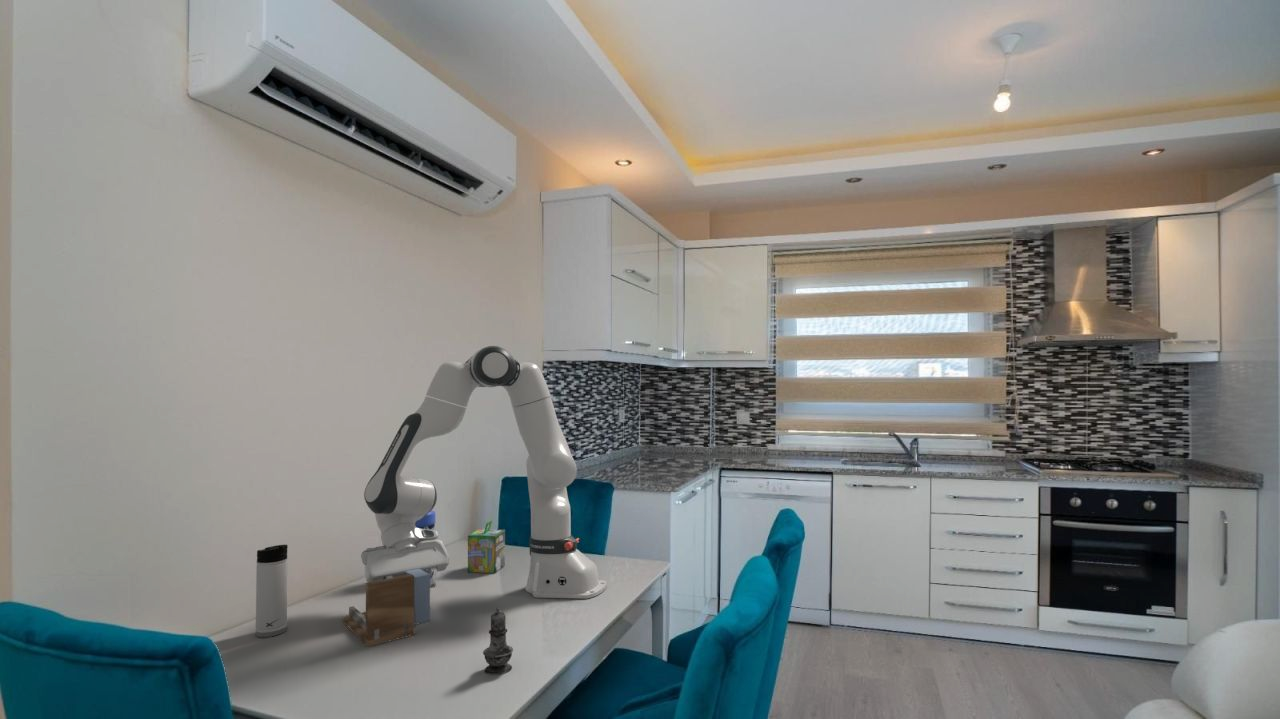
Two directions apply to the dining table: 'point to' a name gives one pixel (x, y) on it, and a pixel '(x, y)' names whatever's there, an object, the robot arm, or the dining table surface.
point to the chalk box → (486, 550)
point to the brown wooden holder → (385, 611)
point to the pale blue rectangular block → (421, 595)
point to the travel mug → (271, 591)
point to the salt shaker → (498, 646)
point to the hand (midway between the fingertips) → (415, 590)
